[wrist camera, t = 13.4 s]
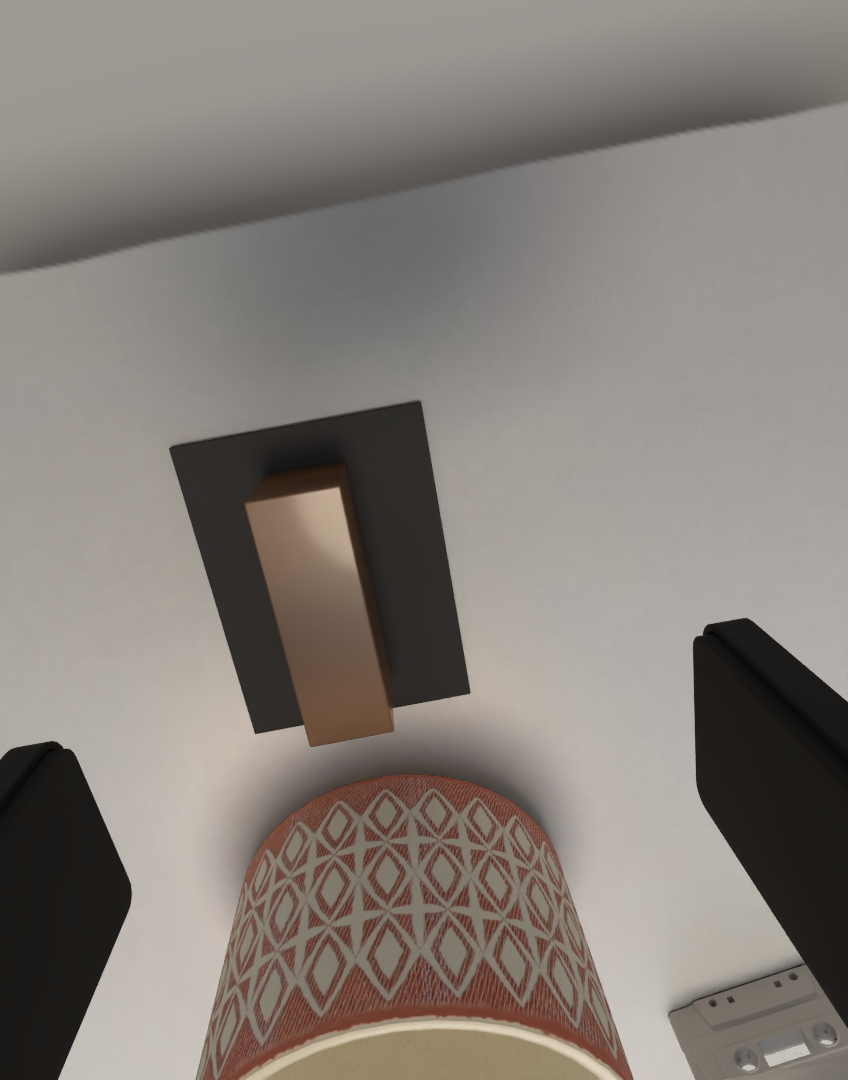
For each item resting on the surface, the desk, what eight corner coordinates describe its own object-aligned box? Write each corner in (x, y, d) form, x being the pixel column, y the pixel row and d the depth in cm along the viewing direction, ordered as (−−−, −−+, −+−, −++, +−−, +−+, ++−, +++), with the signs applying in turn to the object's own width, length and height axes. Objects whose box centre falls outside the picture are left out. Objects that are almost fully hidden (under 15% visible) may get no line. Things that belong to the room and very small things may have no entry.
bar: (263, 475, 31) (242, 502, 26) (345, 460, 31) (340, 484, 26) (319, 691, 35) (309, 748, 30) (392, 677, 35) (394, 732, 30)
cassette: (832, 953, 44) (922, 1076, 37) (836, 971, 45) (925, 1096, 37) (665, 1008, 45) (721, 1140, 37) (671, 1026, 45) (727, 1159, 38)
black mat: (170, 447, 30) (168, 448, 30) (420, 401, 31) (420, 402, 30) (256, 730, 36) (255, 734, 35) (469, 690, 36) (470, 693, 35)
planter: (203, 796, 37) (95, 1087, 23) (532, 724, 37) (629, 969, 23) (293, 1027, 43) (252, 1368, 29) (575, 965, 43) (672, 1276, 29)
